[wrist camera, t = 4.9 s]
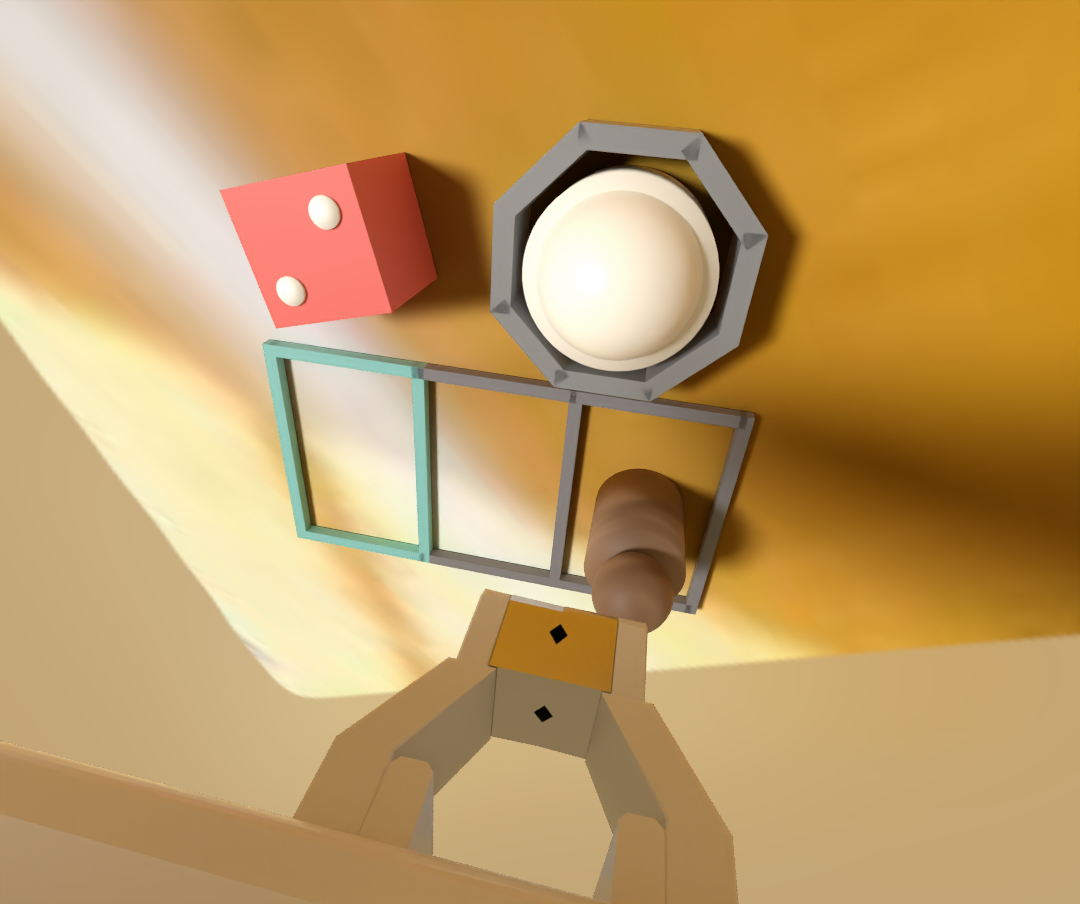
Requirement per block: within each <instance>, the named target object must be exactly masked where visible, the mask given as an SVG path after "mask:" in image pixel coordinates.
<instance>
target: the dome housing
mask: <svg viewBox="0 0 1080 904" xmlns="http://www.w3.org/2000/svg"><path fill="white" fill-rule="evenodd" d="M590 150H593V151H603V152H613V153H623V154H633V155H642V156H652V157H662V158H672V159H682V160H687V161H688V162H689V164H690V165H691V167H692V168H693V170H694V171H695V173H696V174H697V176H698V178H699V179H700V181H701V182H702V184H703V185H704V187H705V188H706V190H707V191H708V193H709V194H710V196H711V197H712V199H713V200H714V202H715V203H716V205H717V206H718V208H719V209H720V211H721V212H722V214H723V215H724V217H725V218H726V220H727V221H728V223H729V224H730V226H731V227H732V229H733V230H734V231H733V235H732V240H731V244H730V248H729V252H728V256H727V261H726V265H725V269H724V273H723V277H722V282H721V286H720V290H719V294H718V298H717V302H716V307H715V311H714V312H713V313H712V314H710V315H709V316H708V317H707V319H706V321H705V322H704V324H703V326H702V327H701V329H700V330H699V331H698V332H697V334H696V335H695V336H694V337H693V339H692V340H691V341H689V342H688V343H687V344H686V345H685V346H684V347H683V348H682V349H681V350H679V351H678V352H677V353H675V354H674V355H672V356H671V357H669V358H667V359H665V360H664V361H661V362H659V363H657V364H654V365H652V366H649V367H645V368H642V369H637V370H631V371H607V370H601V369H596V368H592V367H589V366H586V365H583V364H581V363H578V362H576V361H574V360H572V359H570V358H569V357H567V356H566V355H564V354H563V353H561V352H560V351H559V350H558V349H556V348H555V347H554V346H553V345H552V344H551V343H550V342H549V341H548V340H547V339H546V338H545V337H544V335H543V334H542V333H541V331H540V330H539V328H538V327H537V325H536V324H535V322H534V320H533V318H532V316H531V314H530V311H529V309H528V306H527V303H526V299H525V295H524V290H523V282H522V266H523V258H524V253H525V249H526V245H527V242H528V238H529V222H530V206H531V204H532V203H533V202H534V201H535V200H536V199H537V198H538V197H539V196H540V195H542V194H543V193H544V192H545V191H546V190H547V189H548V188H549V187H550V186H551V185H552V184H554V183H555V182H556V181H557V180H558V179H559V178H560V177H561V176H562V175H563V174H564V173H566V172H567V171H568V170H569V169H570V168H571V167H572V166H573V165H574V164H575V163H576V162H578V161H579V160H580V159H581V158H582V157H583V156H584V155H585V154H586V153H587V152H588V151H590ZM767 238H768V234H767V232H766V231H765V229H764V228H763V226H762V225H761V223H760V222H759V220H758V219H757V217H756V216H755V214H754V212H753V211H752V209H751V208H750V206H749V205H748V203H747V202H746V200H745V198H744V197H743V195H742V194H741V192H740V191H739V189H738V188H737V186H736V184H735V183H734V181H733V180H732V178H731V177H730V175H729V174H728V172H727V170H726V169H725V167H724V166H723V164H722V163H721V161H720V160H719V158H718V156H717V155H716V153H715V152H714V150H713V149H712V147H711V146H710V144H709V142H708V141H707V139H706V138H705V136H704V135H703V133H702V132H701V131H700V130H697V129H687V128H676V127H666V126H655V125H645V124H634V123H623V122H613V121H602V120H592V119H588V120H584V121H579V123H578V124H577V125H576V126H575V127H573V128H572V129H571V130H570V131H569V132H568V133H567V134H566V135H565V136H564V137H563V138H562V139H561V140H560V141H559V142H558V143H557V144H556V145H555V146H554V147H553V148H552V149H550V150H549V151H548V152H547V153H546V154H545V155H544V156H543V157H542V158H541V159H540V160H539V161H538V162H537V163H536V164H535V165H534V166H533V167H532V168H531V169H530V170H528V171H527V172H526V173H525V174H524V175H523V176H522V177H521V178H520V179H519V180H518V181H517V182H516V183H515V184H514V185H513V186H512V187H511V188H510V189H509V190H508V191H507V192H505V193H504V194H503V195H502V196H501V197H500V198H499V199H498V200H497V201H496V202H495V203H494V207H493V238H492V270H491V301H490V312H491V313H492V314H493V316H494V317H495V318H496V319H497V320H498V322H499V323H500V324H501V325H502V326H503V327H504V329H505V330H506V331H507V332H508V333H509V335H510V336H511V337H512V338H513V339H514V340H515V342H516V343H517V344H518V345H519V346H520V348H521V349H522V350H523V351H524V352H525V353H526V355H527V356H528V357H529V358H530V359H531V361H532V362H533V363H534V364H535V365H536V366H537V368H538V369H539V370H540V371H541V372H542V373H543V375H544V376H545V377H546V378H547V379H548V381H549V382H550V383H551V384H552V385H553V386H554V387H557V388H564V389H571V390H577V391H584V392H590V393H597V394H603V395H610V396H617V397H623V398H630V399H636V400H643V401H649V402H650V401H652V400H654V399H655V398H657V397H658V396H660V395H661V394H663V393H665V392H666V391H668V390H669V389H671V388H673V387H674V386H676V385H677V384H679V383H681V382H682V381H684V380H685V379H687V378H688V377H690V376H692V375H693V374H695V373H696V372H698V371H700V370H701V369H703V368H704V367H706V366H708V365H709V364H711V363H712V362H714V361H715V360H717V359H719V358H720V357H722V356H723V355H725V354H727V353H728V352H730V351H731V350H733V349H735V348H736V347H738V346H739V342H740V339H741V335H742V331H743V327H744V324H745V320H746V316H747V313H748V309H749V305H750V301H751V298H752V294H753V290H754V287H755V283H756V279H757V275H758V272H759V268H760V264H761V261H762V257H763V253H764V249H765V246H766V242H767Z"/></svg>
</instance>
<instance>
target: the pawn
mask: <svg viewBox="0 0 1080 904" xmlns="http://www.w3.org/2000/svg"><path fill="white" fill-rule="evenodd" d="M584 572H585V576H586V579H587V581H588V583H589V584H590V586H591V587H592V601H593V604H594V608H595V610H596V612H597V613H599V614H604V615H609V616H614V617H617V618H623V619H628V620H633V621H638V622H643V623H646V625H647V628H648V631H647V633H649V632H651V631H653V630H655V629H657V628H658V627H659V626H660V625H661V624H662V623H663V622H664V621H665V620H666V619H667V617H668V615H669V614H670V612H671V609H672V606H673V600H674V597H675V596H676V595H677V594H678V593H679V592H680V590H681V589H682V587H683V585H684V582H685V577H686V566H685V533H684V503H683V498H682V495H681V493H680V491H679V489H678V488H677V486H676V485H675V484H674V483H673V482H672V481H671V480H670V479H668V478H667V477H665V476H664V475H662V474H660V473H657V472H654V471H651V470H646V469H629V470H625V471H621V472H619V473H616V474H614V475H613V476H611V477H610V478H608V479H607V480H606V481H605V482H604V483H603V484H602V486H601V487H600V489H599V491H598V494H597V498H596V503H595V509H594V514H593V519H592V524H591V530H590V535H589V540H588V546H587V551H586V556H585V561H584Z"/></svg>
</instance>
